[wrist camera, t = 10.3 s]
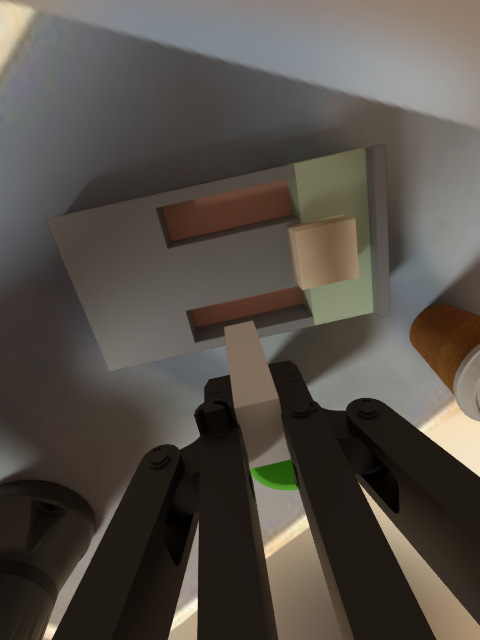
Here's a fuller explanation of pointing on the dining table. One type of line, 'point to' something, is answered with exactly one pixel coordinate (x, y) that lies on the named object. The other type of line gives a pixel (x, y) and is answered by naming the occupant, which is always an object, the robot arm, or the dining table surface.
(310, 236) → the block
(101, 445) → the dining table surface
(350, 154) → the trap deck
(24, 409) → the dining table surface
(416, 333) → the disposable coffee cup
